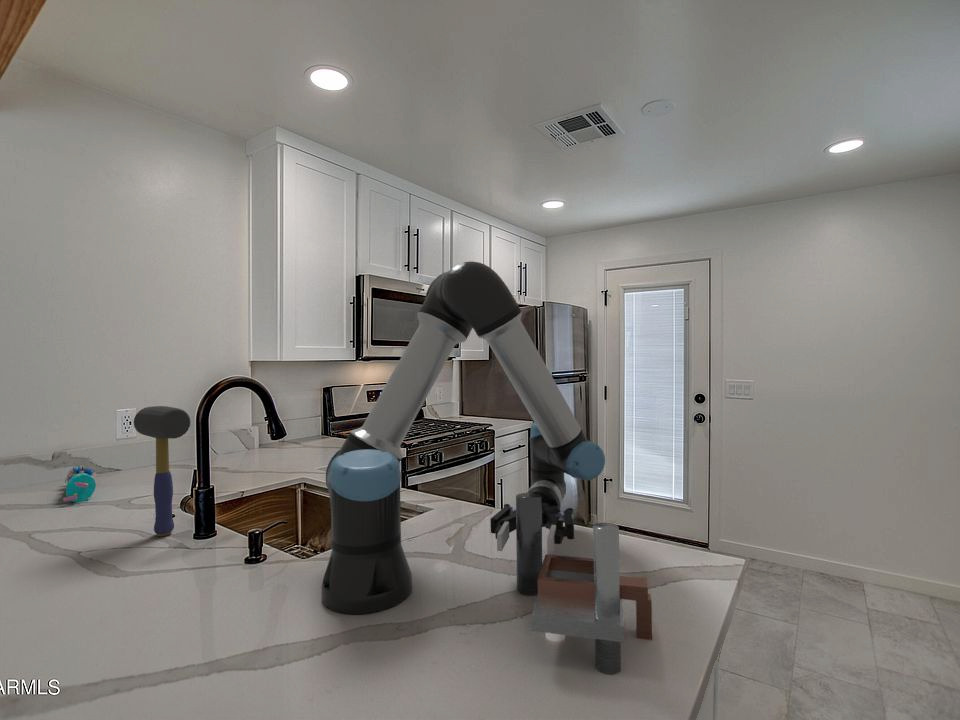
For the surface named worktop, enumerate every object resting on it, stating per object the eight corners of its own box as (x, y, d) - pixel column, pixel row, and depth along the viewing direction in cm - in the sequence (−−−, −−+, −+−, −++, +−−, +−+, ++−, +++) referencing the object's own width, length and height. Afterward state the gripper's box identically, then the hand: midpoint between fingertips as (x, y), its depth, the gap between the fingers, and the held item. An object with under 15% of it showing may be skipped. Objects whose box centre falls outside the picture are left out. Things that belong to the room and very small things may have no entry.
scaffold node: (532, 665, 63) (530, 526, 63) (546, 607, 78) (544, 494, 78) (659, 683, 59) (656, 535, 59) (648, 619, 74) (647, 500, 74)
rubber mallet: (132, 535, 113) (130, 406, 113) (166, 525, 120) (164, 403, 120) (161, 544, 107) (159, 408, 107) (195, 533, 114) (193, 405, 114)
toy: (61, 504, 137) (53, 484, 158) (96, 506, 142) (84, 487, 164) (71, 474, 138) (63, 459, 160) (106, 478, 144) (93, 463, 165)
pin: (514, 593, 82) (513, 499, 82) (519, 582, 86) (518, 492, 86) (540, 596, 81) (539, 500, 81) (544, 584, 85) (543, 493, 85)
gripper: (593, 525, 99) (589, 573, 77) (494, 518, 104) (464, 562, 82) (592, 488, 99) (588, 526, 76) (494, 483, 104) (463, 517, 82)
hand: (524, 544), depth 79 cm, fingers open, 8 cm apart
